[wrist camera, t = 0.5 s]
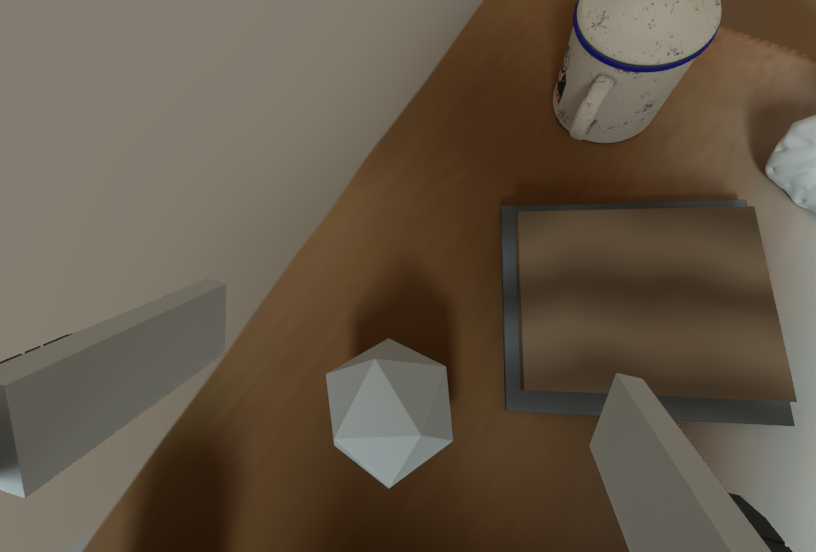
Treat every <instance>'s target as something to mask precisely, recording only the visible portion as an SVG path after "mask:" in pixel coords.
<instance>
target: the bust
mask: <svg viewBox="0 0 816 552" xmlns="http://www.w3.org/2000/svg"><path fill="white" fill-rule="evenodd" d="M765 173H766V175H767V177H768V178H769V179H770V180H772V181H773V182H774V183H775V184H777V185H778V186H779V187H781V188H782V189H784V190H785V191H786V192H787V194H788V195H789V197H790V198H791V200H792V201H793V202H794V203H795V204H796V205H798V206H800V207H804V208H807V209H809V210H810V211H812V212H813V213H815V214H816V115H813V116H810V117H808V118H805V119H802V120H799V121H796V122H794V123H793V124H792V125H791V126H790V127H789V129H788V130H787V132H786V133H785V135H784V137H783V138H782V139H781V140H780V141H779V142H778V143H777V145H776V147H775V149H774V150H773V152H772V154H771V155H770V157H769V159H768V161H767V164H766V166H765Z"/></svg>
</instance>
